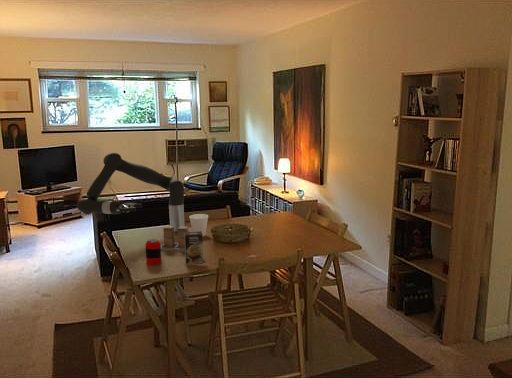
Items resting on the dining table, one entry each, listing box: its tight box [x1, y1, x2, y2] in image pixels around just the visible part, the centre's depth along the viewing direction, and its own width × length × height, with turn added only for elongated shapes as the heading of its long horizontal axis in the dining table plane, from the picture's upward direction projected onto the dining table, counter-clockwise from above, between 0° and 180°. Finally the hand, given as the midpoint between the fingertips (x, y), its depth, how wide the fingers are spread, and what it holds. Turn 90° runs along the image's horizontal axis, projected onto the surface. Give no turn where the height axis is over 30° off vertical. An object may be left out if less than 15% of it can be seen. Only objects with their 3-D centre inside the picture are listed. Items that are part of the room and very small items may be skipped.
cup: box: [189, 213, 209, 237], centre depth 291 cm, size 12×12×12 cm
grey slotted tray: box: [160, 242, 185, 253], centre depth 263 cm, size 12×21×3 cm, turn 80°
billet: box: [162, 225, 176, 248], centre depth 263 cm, size 4×4×12 cm
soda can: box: [144, 238, 162, 266], centre depth 243 cm, size 8×8×12 cm
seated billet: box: [177, 225, 189, 249], centre depth 261 cm, size 4×4×12 cm
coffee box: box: [184, 231, 204, 266], centre depth 242 cm, size 9×6×16 cm
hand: (138, 207), depth 264 cm, fingers open, 8 cm apart
